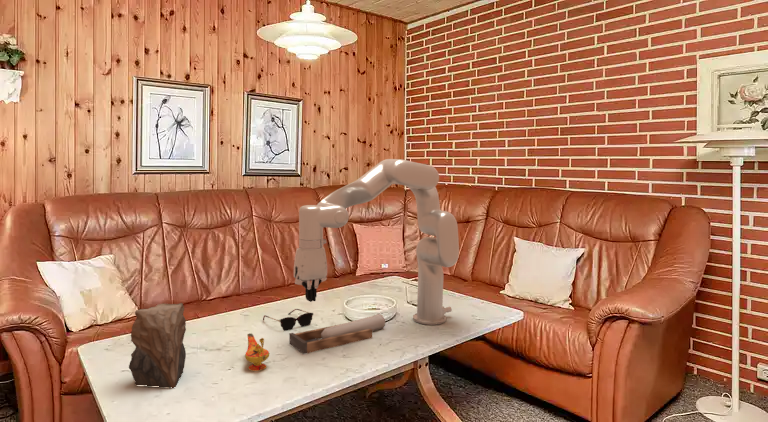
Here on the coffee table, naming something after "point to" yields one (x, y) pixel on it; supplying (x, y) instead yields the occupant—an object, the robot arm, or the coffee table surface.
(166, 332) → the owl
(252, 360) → the magic lamp
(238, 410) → the coffee table surface
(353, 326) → the tube
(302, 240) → the robot arm
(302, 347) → the trap channel
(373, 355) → the coffee table surface
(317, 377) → the coffee table surface
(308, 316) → the sunglasses
